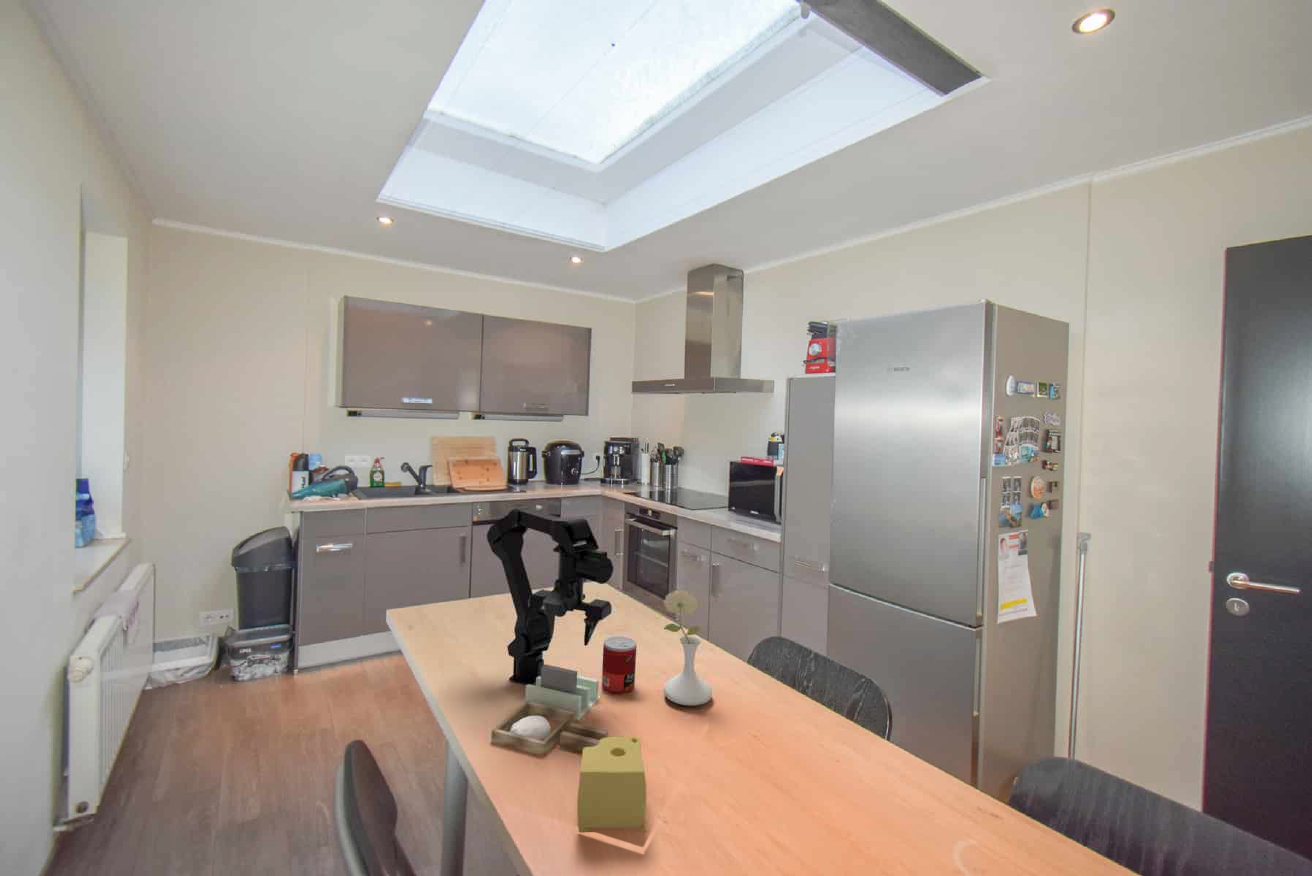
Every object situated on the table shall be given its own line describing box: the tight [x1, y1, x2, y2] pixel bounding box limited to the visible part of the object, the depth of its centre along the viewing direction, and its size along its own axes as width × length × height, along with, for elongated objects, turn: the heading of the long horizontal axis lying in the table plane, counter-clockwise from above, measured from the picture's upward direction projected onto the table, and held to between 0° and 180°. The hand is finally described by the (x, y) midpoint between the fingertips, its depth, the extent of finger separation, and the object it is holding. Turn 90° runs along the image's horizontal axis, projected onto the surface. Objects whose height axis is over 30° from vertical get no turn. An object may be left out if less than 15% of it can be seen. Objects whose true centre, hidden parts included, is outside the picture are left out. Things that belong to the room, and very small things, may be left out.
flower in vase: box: [662, 590, 713, 707], centre depth 133 cm, size 13×11×25 cm
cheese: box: [576, 736, 647, 833], centre depth 93 cm, size 10×11×10 cm
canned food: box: [601, 635, 637, 695], centre depth 136 cm, size 8×8×11 cm
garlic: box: [509, 715, 552, 741], centre depth 114 cm, size 8×7×4 cm
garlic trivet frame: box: [490, 701, 576, 757], centre depth 114 cm, size 12×13×3 cm
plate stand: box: [558, 722, 609, 756], centre depth 111 cm, size 8×6×3 cm
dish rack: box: [520, 674, 602, 721], centre depth 127 cm, size 14×11×5 cm
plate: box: [541, 663, 578, 695], centre depth 125 cm, size 8×2×8 cm, turn 70°
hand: (568, 641), depth 130 cm, fingers open, 9 cm apart
